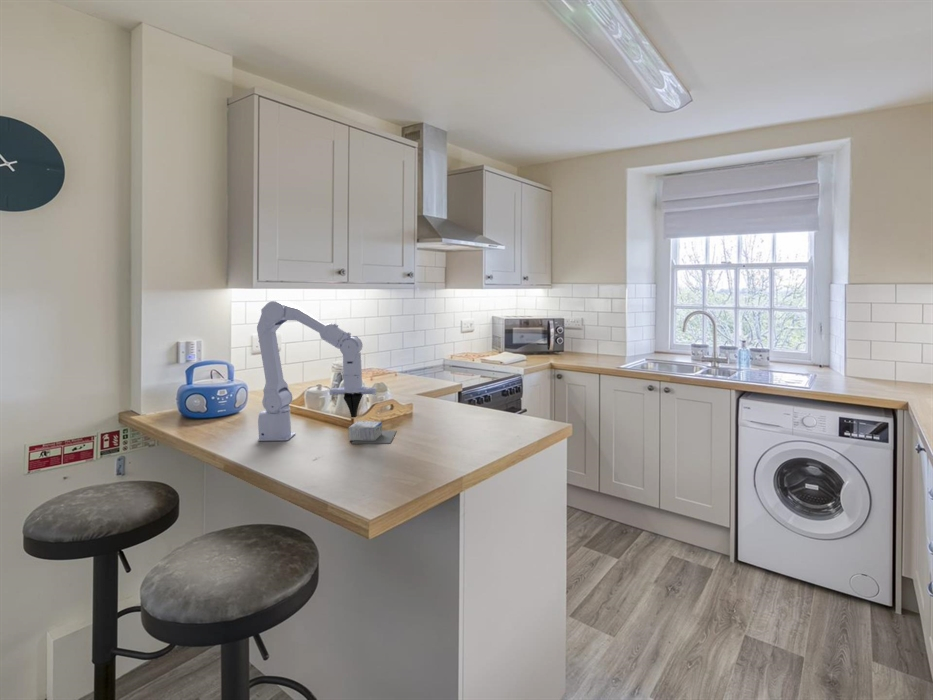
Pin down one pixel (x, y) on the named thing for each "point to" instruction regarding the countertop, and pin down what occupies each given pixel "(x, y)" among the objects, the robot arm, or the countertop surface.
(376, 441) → the mat
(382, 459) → the countertop surface
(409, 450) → the countertop surface
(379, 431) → the medicine box
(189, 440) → the countertop surface
